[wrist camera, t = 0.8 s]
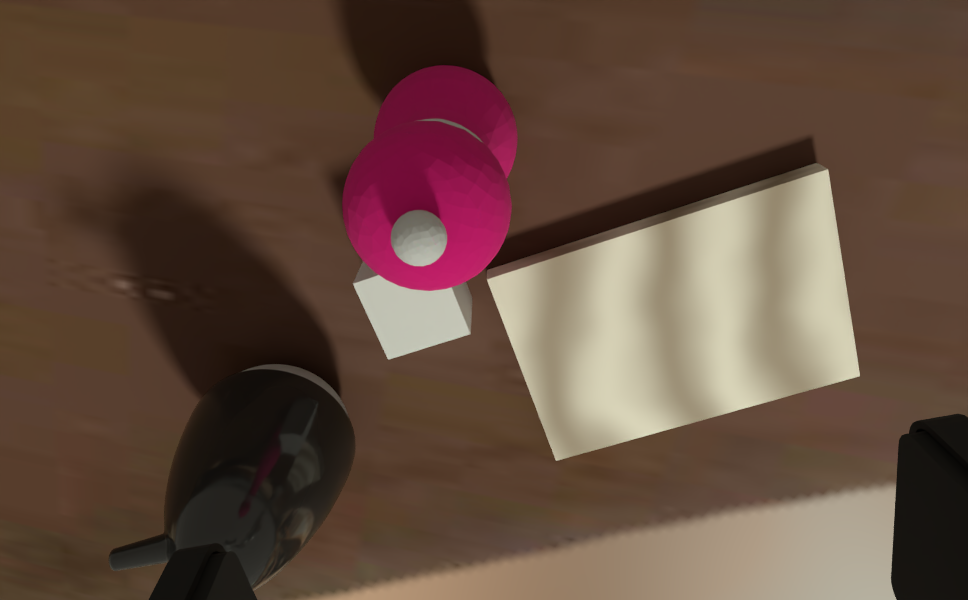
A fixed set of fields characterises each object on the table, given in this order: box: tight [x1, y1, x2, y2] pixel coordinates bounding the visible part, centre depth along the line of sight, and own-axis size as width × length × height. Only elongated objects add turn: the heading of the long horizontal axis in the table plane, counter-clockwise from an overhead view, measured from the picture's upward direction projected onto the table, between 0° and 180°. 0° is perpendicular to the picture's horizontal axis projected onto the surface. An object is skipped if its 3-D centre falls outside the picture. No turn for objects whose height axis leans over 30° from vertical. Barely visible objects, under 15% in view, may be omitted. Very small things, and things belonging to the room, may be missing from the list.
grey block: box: [353, 261, 472, 360], centre depth 41 cm, size 5×5×5 cm
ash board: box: [487, 163, 860, 461], centre depth 44 cm, size 20×14×2 cm
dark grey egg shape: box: [109, 364, 355, 591], centre depth 41 cm, size 10×10×15 cm
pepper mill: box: [342, 65, 517, 291], centre depth 30 cm, size 7×7×20 cm
